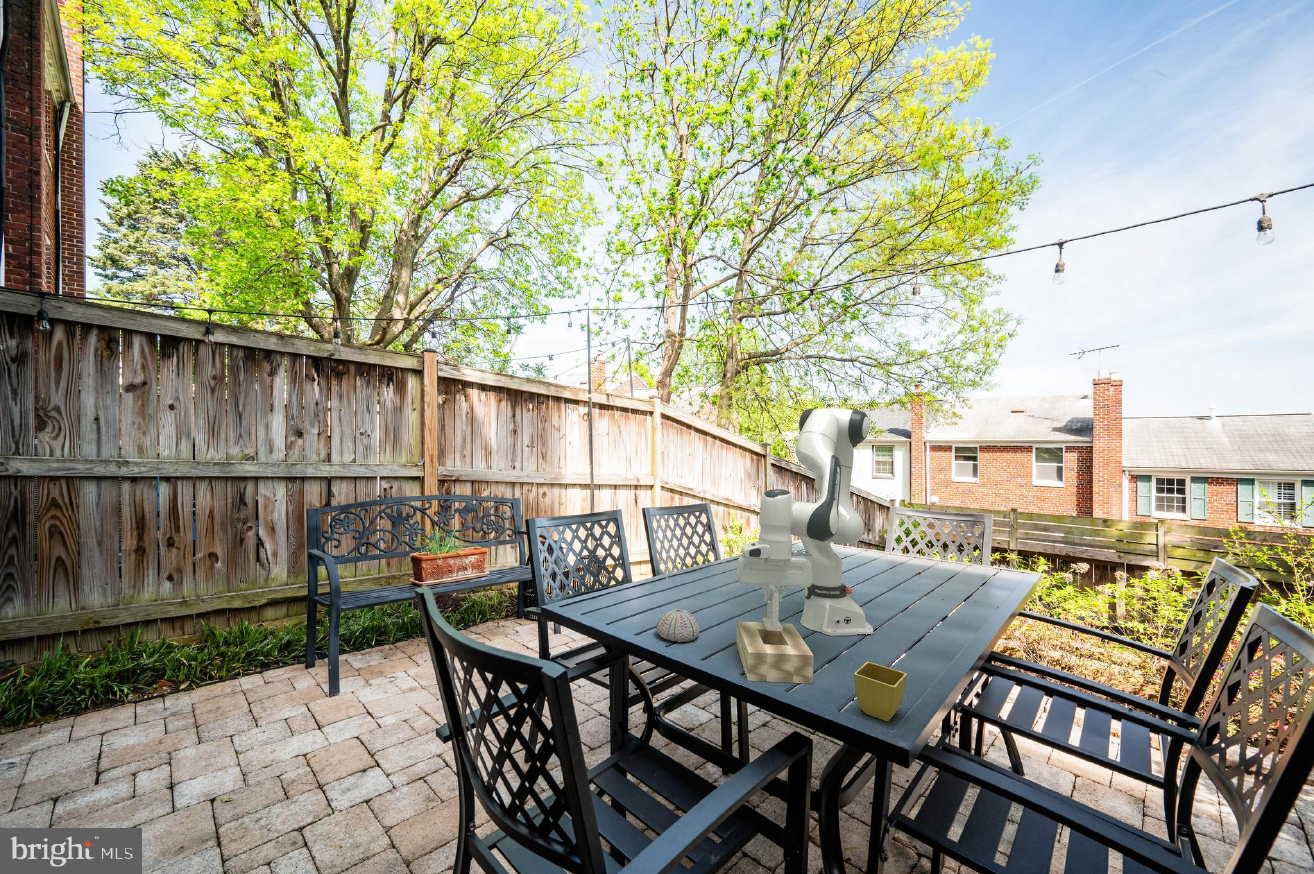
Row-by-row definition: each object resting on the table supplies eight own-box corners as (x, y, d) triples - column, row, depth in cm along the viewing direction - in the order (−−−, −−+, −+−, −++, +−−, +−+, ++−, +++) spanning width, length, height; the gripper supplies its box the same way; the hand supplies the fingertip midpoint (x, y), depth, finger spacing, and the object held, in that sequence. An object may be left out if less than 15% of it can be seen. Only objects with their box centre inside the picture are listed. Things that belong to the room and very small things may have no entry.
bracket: (776, 621, 139) (778, 585, 139) (782, 631, 132) (783, 592, 132) (762, 621, 139) (763, 584, 140) (767, 630, 132) (768, 592, 133)
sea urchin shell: (673, 625, 162) (674, 600, 162) (708, 636, 153) (709, 610, 153) (646, 636, 152) (647, 609, 152) (682, 649, 143) (683, 621, 143)
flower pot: (894, 730, 105) (895, 686, 105) (852, 714, 111) (853, 672, 111) (906, 714, 112) (907, 673, 112) (866, 699, 118) (867, 661, 118)
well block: (791, 647, 147) (792, 623, 147) (812, 683, 125) (813, 655, 125) (736, 645, 147) (737, 621, 147) (747, 680, 125) (748, 652, 125)
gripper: (810, 549, 139) (808, 599, 139) (736, 545, 140) (734, 595, 139) (816, 554, 133) (815, 606, 133) (739, 550, 133) (737, 603, 133)
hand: (773, 601), depth 136 cm, fingers closed on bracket
